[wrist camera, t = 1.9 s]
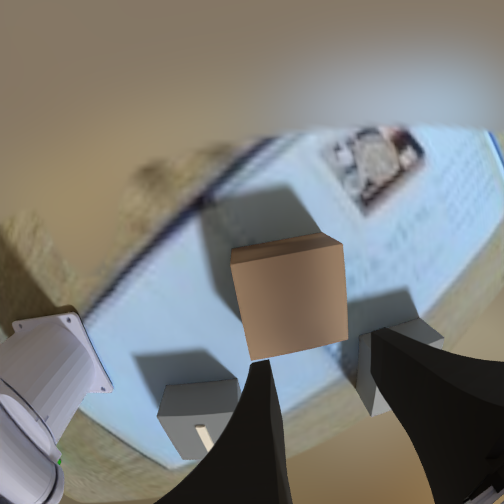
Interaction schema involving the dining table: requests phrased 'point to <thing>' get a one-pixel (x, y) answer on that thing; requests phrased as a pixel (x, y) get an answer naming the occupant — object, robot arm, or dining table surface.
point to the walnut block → (291, 294)
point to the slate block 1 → (197, 414)
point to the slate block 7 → (364, 378)
